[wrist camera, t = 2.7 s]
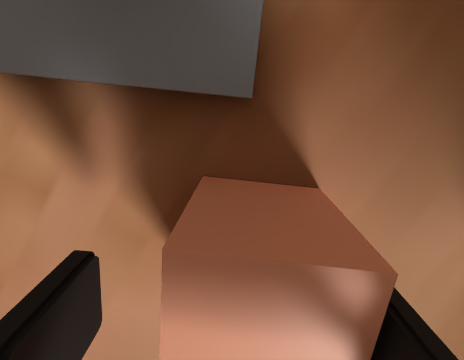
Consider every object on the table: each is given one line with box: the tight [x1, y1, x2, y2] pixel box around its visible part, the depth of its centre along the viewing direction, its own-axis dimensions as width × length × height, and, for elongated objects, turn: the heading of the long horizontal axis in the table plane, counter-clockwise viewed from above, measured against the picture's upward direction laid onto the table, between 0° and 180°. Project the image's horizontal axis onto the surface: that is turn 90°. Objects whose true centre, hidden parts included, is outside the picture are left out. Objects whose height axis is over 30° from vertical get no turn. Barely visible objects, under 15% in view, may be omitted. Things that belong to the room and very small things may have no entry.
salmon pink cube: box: [160, 176, 398, 360], centre depth 11 cm, size 6×6×7 cm
